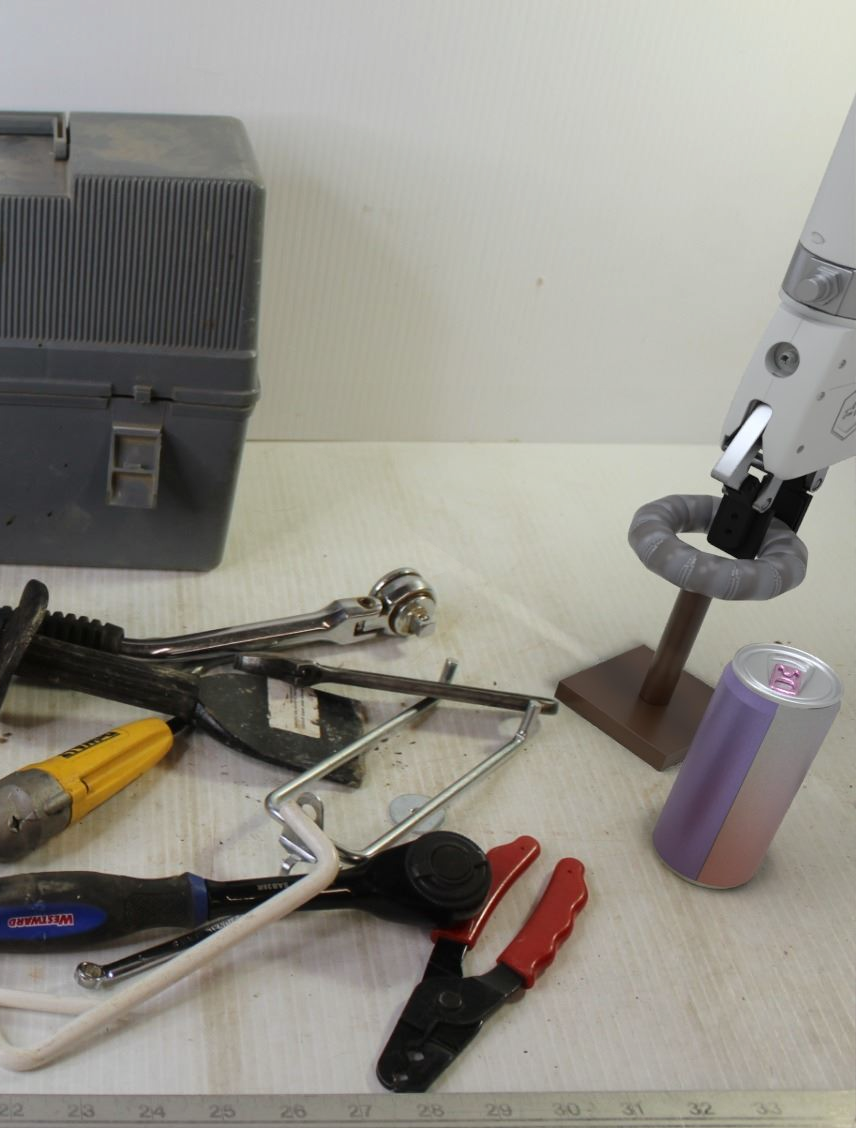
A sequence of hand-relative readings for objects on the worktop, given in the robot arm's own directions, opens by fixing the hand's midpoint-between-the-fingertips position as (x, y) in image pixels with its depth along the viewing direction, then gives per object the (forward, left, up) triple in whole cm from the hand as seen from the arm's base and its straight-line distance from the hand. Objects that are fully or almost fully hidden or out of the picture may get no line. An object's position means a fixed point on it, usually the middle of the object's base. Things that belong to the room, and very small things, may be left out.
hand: (748, 541), depth 88 cm
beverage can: (+13, +11, -14) cm, 22 cm away
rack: (+4, 0, -13) cm, 14 cm away
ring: (+4, 0, +1) cm, 4 cm away
